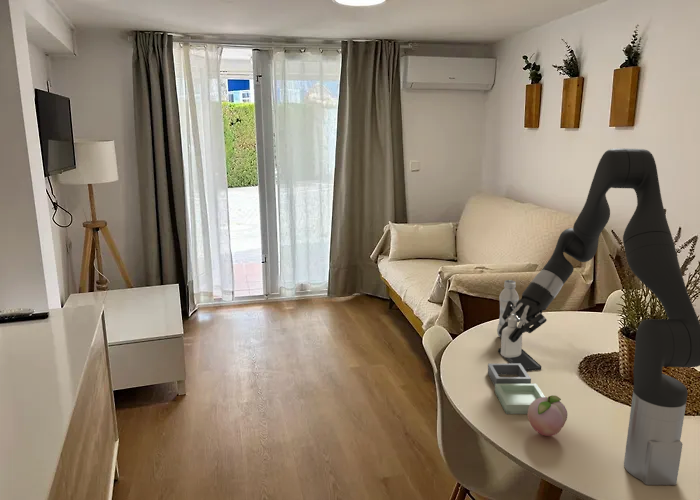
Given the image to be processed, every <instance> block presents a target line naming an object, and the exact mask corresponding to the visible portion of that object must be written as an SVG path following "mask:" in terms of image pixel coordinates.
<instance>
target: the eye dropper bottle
mask: <svg viewBox="0 0 700 500" xmlns="http://www.w3.org/2000/svg"><path fill="white" fill-rule="evenodd" d="M516 327H517V328H518V322H517V319H516V318H515V315H514V314H512V315H511V318H509V319H508V326H507V327H505V328H504V329H503V330H502V338H500V339H501V341H500V348H501V354H500V355H501V356H502V357H503V356H504V357H507V358H511V357H517V356H520V355H521V349H523V348H522V347H523V334H522V335H521V336H520V337H519V339H518V340H517V341H515V342H512V341H511V340H510V339H509V336H510V335H511V333H512V332H513V331H514V330H515V328H516ZM504 357H503V358H504Z"/></svg>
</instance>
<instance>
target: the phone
mask: <svg viewBox="0 0 700 500" xmlns="http://www.w3.org/2000/svg"><path fill="white" fill-rule="evenodd" d="M497 352H498V353H499V355H501V347H500V348H498V349H497ZM502 357H503V359H504V360H505V361H507V362H508V363H521V365H522V366H523V368H524V369H525V371H526V372H533V371H532V370H535V371H542V365H541V364H540V363H538V361H537V360H535V359H534V358H533V357H532V356H531V355H530V354H528V353H527V351H526V350H524V348H522V349H521V355H520V356H517V357H511V358H507V357H504V356H502Z"/></svg>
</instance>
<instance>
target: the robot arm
mask: <svg viewBox="0 0 700 500" xmlns="http://www.w3.org/2000/svg"><path fill="white" fill-rule="evenodd" d="M659 181H660V180H659V175H658V167H657V163H656V160H655V158H654V155H653V154H652V152H651V151H650V150H648V149H646V148H645V149H644V148H623V147H622V148H621V147H617V148H610V149H608V150H606V151H605V152H604V153H603V154H602V155H601V158H600V159H599V161H598V163H597V167H596V170H595V172H594V175H593V177H592V181H591V185H590V187H589V191H588V193H587V197H586V199H585V200H586V201H585V203H584V206H583V207H582V209H581V211H580V212H579V214H578V217H577V218H576V219H575V221H574V223H573V227H569V228H566V229H564V230H563V231H562V232H561V233H560V234H559V237H558V239H557V243H556V245H555V248H554V250H553V253H552V255H551V256H550V258H549V259H548V261H547V263H546V264H545V265H544V266H543V268H541V270H540V271H539V272H538V273H537V274H535V276H534V278H533V279H532V280H531V282H530V283H528V286H527V287H526V288H525V289H524V290H523V292H522V294H521V298H519V301H518V302H517V303H512V302H511V301H509V302H508V303H507V306H506V308H505V311H504V314H503V316H502V318H503V319H504V320H505V323H504V325H503V326H502V327H501V328H500V330H499V334H500V335H501V336H502V330H503V329H504V328H505V327H507V326H508V319H509V318H511V315H512V314H514V315H515V318H516V319H517V323H518V324H517V327H518V328H517V327H516V328H515V330H514V331H513V332H512V333H511V335H510V336H509V339H510V340H511V341H512V342H515V341H517V340H518V339H519V337H520V336H521V335H522V336H523V334H524V333H528V334H532V333H533V332H534V331H536V329H539V328H540V327H541V326H542V325H544V324H545V323H546V322H547V321H548V320H547V318H546V317H545V316H544V315H543V311H544V312H545V311H546V310H547V309H548V307H549V306H550V305H551V304H552V302H553V301H554V299H555V298H556V297H557V296H558V294H559V293H560V291H561V290H562V287H563V286H564V285H565V283H566V282H567V281H568V279H569V278H570V277H571V275H572V274H573V272H574V266H573V264H572V263H571V262H570V261H569V260H568V259H567V258H566V257H565V255H564V254H567V255H568V256H570V257H572V258H573V259H574V260H576V261H577V262H581V263H587V262H590V261H591V260H592V259H594V257H595V255H596V253H597V250H598V247H599V240H600V235H601V234H602V232H603V231H604V229H605V227H606V226H607V225H608V223H609V220H610V218H611V209H610V205H609V202H608V199H607V196H606V194H607V193H608V191H610V189H611V188H612V189H632V190H634V192H635V195H636V203H637V204H636V205H637V206H636V208H635V209H634V210H635V211H633V212H634V213H632V216H631V218H630V219H629V221H628V223H627V225H626V227H625V229H624V232H623V235H622V242H623V248H624V251H625V257H626V261H627V264H628V266H629V269H630V270H631V272H632V273H633V274H634V275H635V276H636V277H637V278H638V279H639V280H640V281H641V283H643V285H645V286H646V288H648V290H649V291H651V292H652V293H653V295H654V296H655V297H656V298H657V300H659V302H660V304H661V305H662V307H663V310H664V312H665V314H666V316H667V318H647V319H644V320H642V321H641V322H639V323H640V324H639V325H638V327H637V329H636V335H635V344H634V346H635V347H634V349H635V350H634V361H633V391H632V396H631V397H632V399H631V405H630V413H629V420H628V421H629V422H628V428H627V436H626V443H625V453H624V460H623V466H624V468H625V470H626V471H627V472H628V473H629V474H630V475H631V476H632V477H634V478H636V479H638V480H640V481H641V482H643V484H644V485H647V486H652V485H653V486H657V485H658V486H660V485H661V486H666V485H667V486H668V485H669V486H676V485H677V481H678V475H679V470H680V464H681V463H680V462H681V457H682V452H683V442H682V441H681V439H682V438H681V437H682V432H683V424H684V420H685V412H686V407H687V399H688V394H689V393H688V389H687V386H686V385H685V384H684V383H683V382H681V381H680V380H679V379H676V378H675V377H673V376H670V375H667V374H665V373H663V368H665V367H666V368H697V367H700V320H699V318H698V316H697V312H696V310H695V308H694V305H693V302H692V300H691V298H690V295H689V292H688V290H687V287H686V284H685V280H684V277H683V274H682V270H681V265H680V263H679V258H678V254H677V249H676V247H675V243H674V239H673V236H672V235H673V234H672V233H671V230H670V226H669V224H668V223H669V222H668V219H667V216H666V212H665V209H664V204H663V199H662V194H661V188H660V187H661V186H660V182H659Z"/></svg>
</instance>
